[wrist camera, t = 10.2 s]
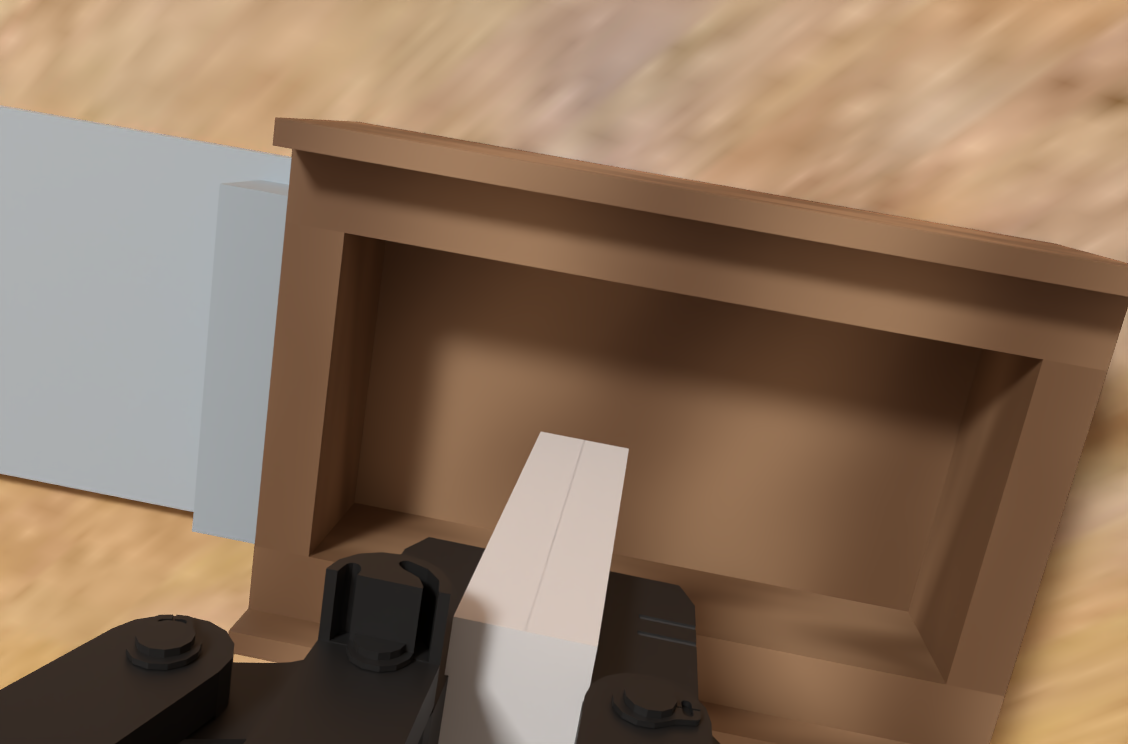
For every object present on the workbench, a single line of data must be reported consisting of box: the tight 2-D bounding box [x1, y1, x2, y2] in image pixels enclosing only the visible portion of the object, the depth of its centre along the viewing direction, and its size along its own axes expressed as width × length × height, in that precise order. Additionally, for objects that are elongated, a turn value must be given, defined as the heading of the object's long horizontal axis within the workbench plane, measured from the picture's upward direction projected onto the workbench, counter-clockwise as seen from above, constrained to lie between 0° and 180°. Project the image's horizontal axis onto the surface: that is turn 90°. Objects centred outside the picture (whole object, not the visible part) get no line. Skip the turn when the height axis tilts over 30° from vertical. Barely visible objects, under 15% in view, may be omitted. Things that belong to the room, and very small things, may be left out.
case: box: [229, 117, 1128, 744], centre depth 21 cm, size 16×11×5 cm
